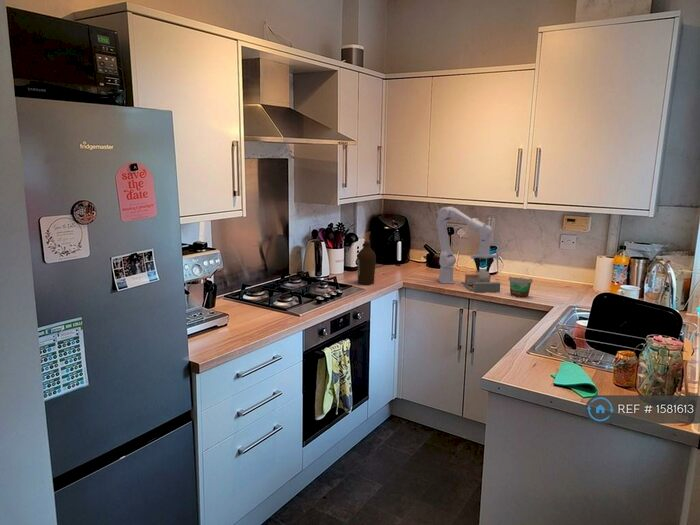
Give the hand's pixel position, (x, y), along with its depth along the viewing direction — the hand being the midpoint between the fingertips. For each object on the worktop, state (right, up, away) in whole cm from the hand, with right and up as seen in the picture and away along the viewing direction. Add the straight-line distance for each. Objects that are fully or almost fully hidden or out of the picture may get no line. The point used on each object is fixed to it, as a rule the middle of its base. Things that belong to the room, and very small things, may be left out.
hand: (482, 271), depth 285 cm
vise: (0, -10, +3) cm, 10 cm away
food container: (+16, -13, -13) cm, 24 cm away
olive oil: (-65, -7, +9) cm, 66 cm away
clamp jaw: (-1, -8, +9) cm, 12 cm away
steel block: (0, -6, +1) cm, 6 cm away
